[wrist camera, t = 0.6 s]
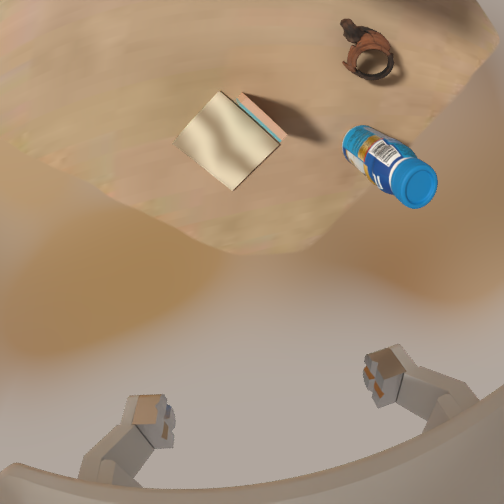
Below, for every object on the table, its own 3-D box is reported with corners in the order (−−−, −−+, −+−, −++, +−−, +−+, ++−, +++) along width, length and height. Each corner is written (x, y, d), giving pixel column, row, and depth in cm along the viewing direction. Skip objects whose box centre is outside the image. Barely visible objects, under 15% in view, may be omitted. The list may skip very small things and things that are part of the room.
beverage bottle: (380, 123, 47) (447, 158, 31) (378, 164, 52) (437, 212, 36) (340, 123, 47) (399, 159, 31) (340, 166, 52) (391, 218, 36)
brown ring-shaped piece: (391, 46, 38) (408, 68, 35) (353, 70, 45) (366, 93, 42) (352, 1, 31) (368, 16, 28) (311, 30, 38) (321, 49, 34)
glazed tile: (242, 92, 43) (247, 97, 35) (276, 123, 46) (287, 135, 39) (235, 99, 43) (239, 105, 36) (269, 129, 47) (279, 142, 40)
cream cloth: (219, 90, 42) (219, 90, 42) (278, 144, 48) (279, 144, 48) (172, 142, 46) (171, 143, 46) (232, 190, 53) (232, 191, 52)
